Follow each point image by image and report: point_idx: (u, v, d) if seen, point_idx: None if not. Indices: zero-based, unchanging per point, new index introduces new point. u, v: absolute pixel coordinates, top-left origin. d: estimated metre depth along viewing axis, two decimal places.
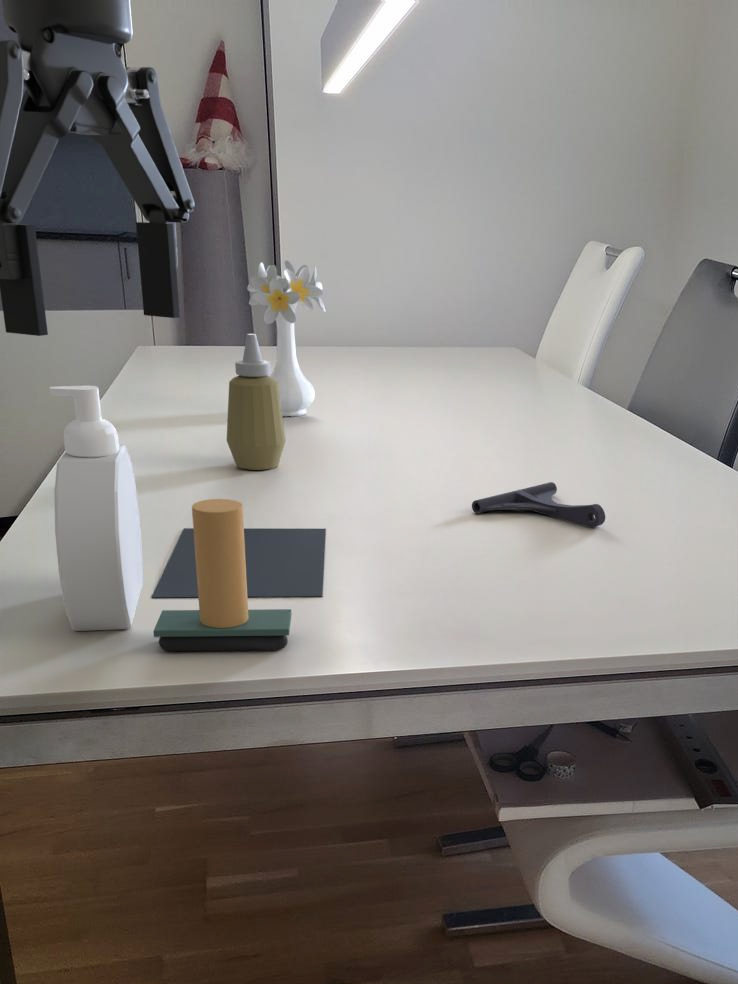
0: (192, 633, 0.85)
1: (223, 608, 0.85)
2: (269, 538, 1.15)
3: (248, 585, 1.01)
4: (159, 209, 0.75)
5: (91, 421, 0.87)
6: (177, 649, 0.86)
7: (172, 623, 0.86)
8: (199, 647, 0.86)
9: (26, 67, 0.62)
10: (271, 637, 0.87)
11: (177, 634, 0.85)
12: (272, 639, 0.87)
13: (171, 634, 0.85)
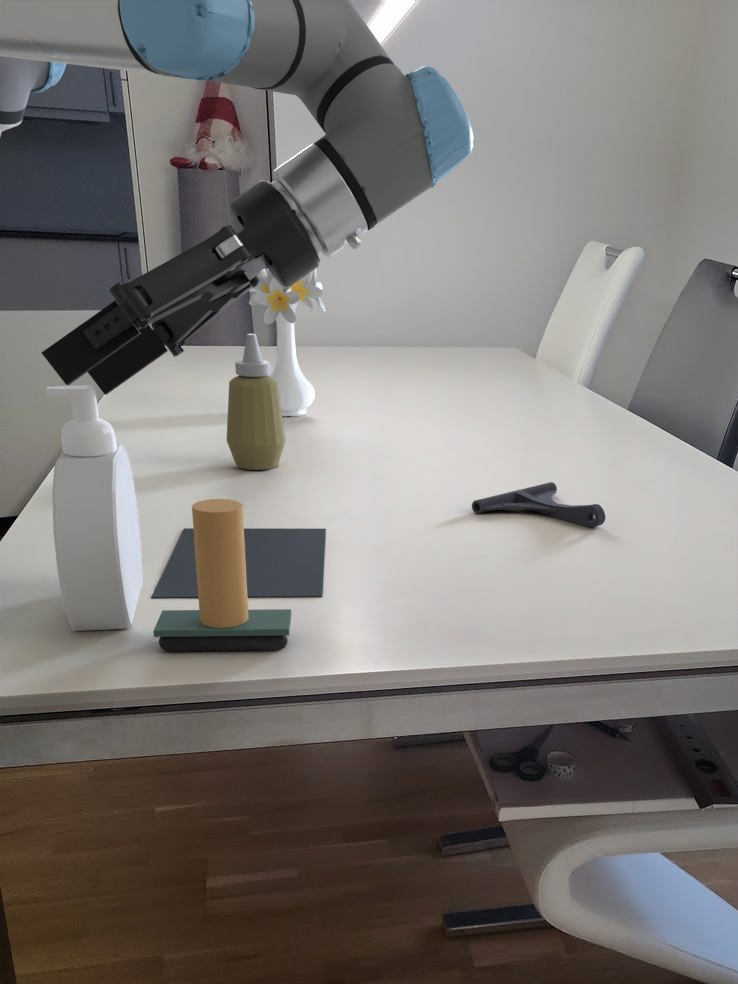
0: (192, 633, 0.85)
1: (223, 608, 0.85)
2: (269, 538, 1.15)
3: (248, 585, 1.01)
4: (168, 333, 0.88)
5: (88, 420, 0.87)
6: (177, 649, 0.86)
7: (172, 623, 0.86)
8: (199, 647, 0.86)
9: None
10: (271, 637, 0.87)
11: (177, 634, 0.85)
12: (272, 639, 0.87)
13: (171, 634, 0.85)
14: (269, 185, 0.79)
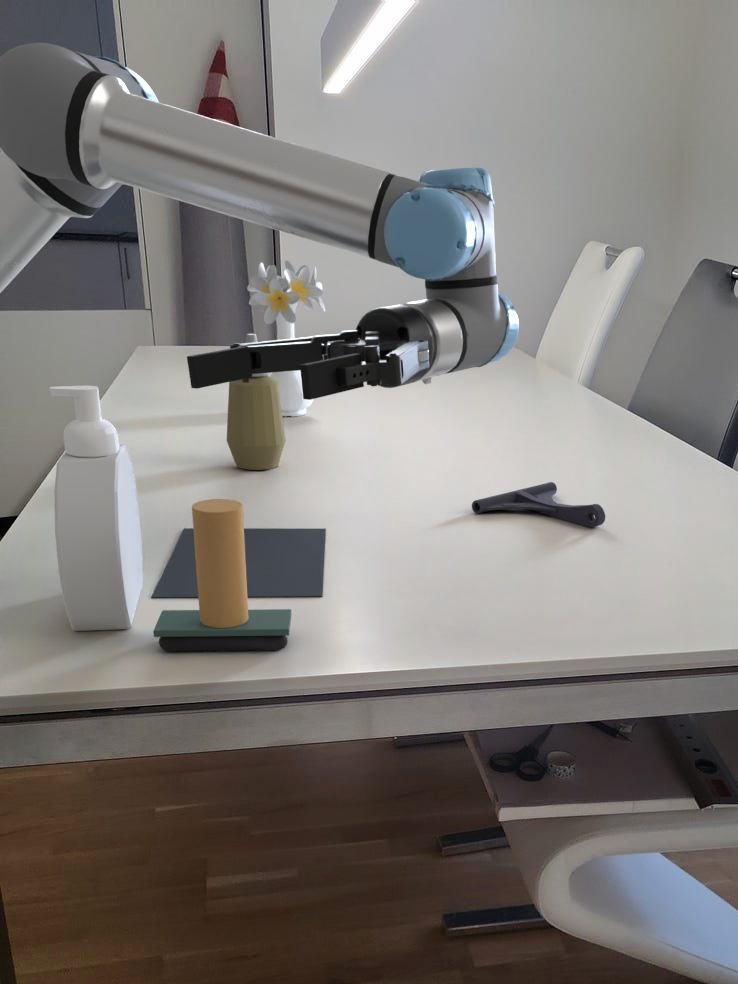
0: (192, 633, 0.85)
1: (223, 608, 0.85)
2: (269, 538, 1.15)
3: (248, 585, 1.01)
4: (252, 362, 0.95)
5: (91, 421, 0.87)
6: (177, 649, 0.86)
7: (172, 623, 0.86)
8: (199, 647, 0.86)
9: None
10: (271, 637, 0.87)
11: (177, 634, 0.85)
12: (272, 639, 0.87)
13: (171, 634, 0.85)
14: None
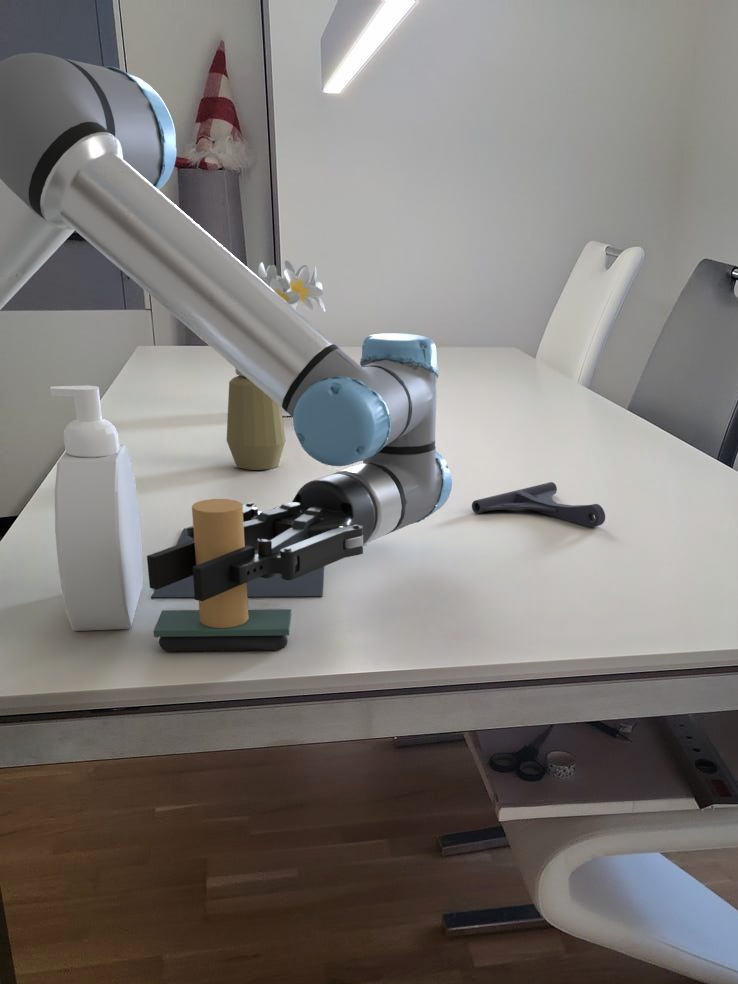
0: (192, 633, 0.85)
1: (223, 608, 0.85)
2: None
3: (248, 585, 1.01)
4: None
5: (92, 421, 0.87)
6: (177, 649, 0.86)
7: (172, 623, 0.86)
8: (199, 647, 0.86)
9: None
10: (271, 637, 0.87)
11: (177, 634, 0.85)
12: (272, 639, 0.87)
13: (171, 634, 0.85)
14: None
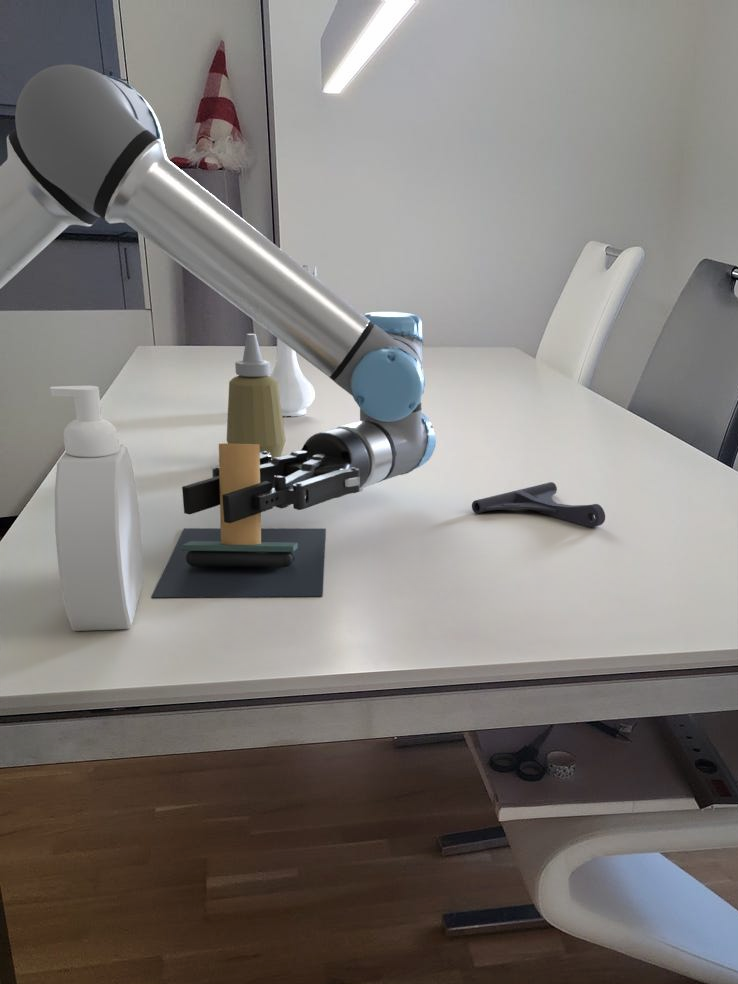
0: (213, 548, 1.03)
1: (240, 527, 1.03)
2: (269, 538, 1.15)
3: (248, 585, 1.01)
4: None
5: (92, 421, 0.87)
6: (200, 563, 1.03)
7: (198, 543, 1.04)
8: (218, 561, 1.03)
9: None
10: (278, 554, 1.04)
11: (201, 548, 1.03)
12: (279, 556, 1.04)
13: (196, 548, 1.03)
14: (359, 440, 1.17)
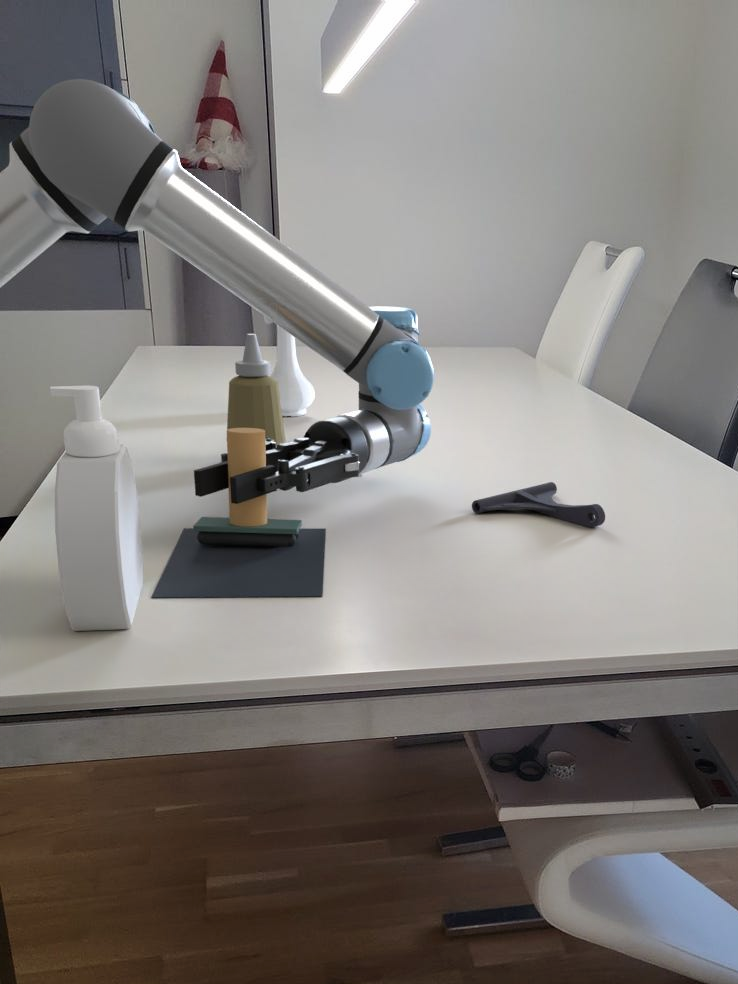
0: (222, 529, 1.10)
1: (247, 510, 1.10)
2: None
3: (248, 585, 1.01)
4: None
5: (92, 421, 0.87)
6: (210, 542, 1.11)
7: (208, 523, 1.11)
8: (227, 541, 1.11)
9: None
10: (283, 535, 1.11)
11: (211, 529, 1.10)
12: (283, 537, 1.11)
13: (206, 529, 1.10)
14: None
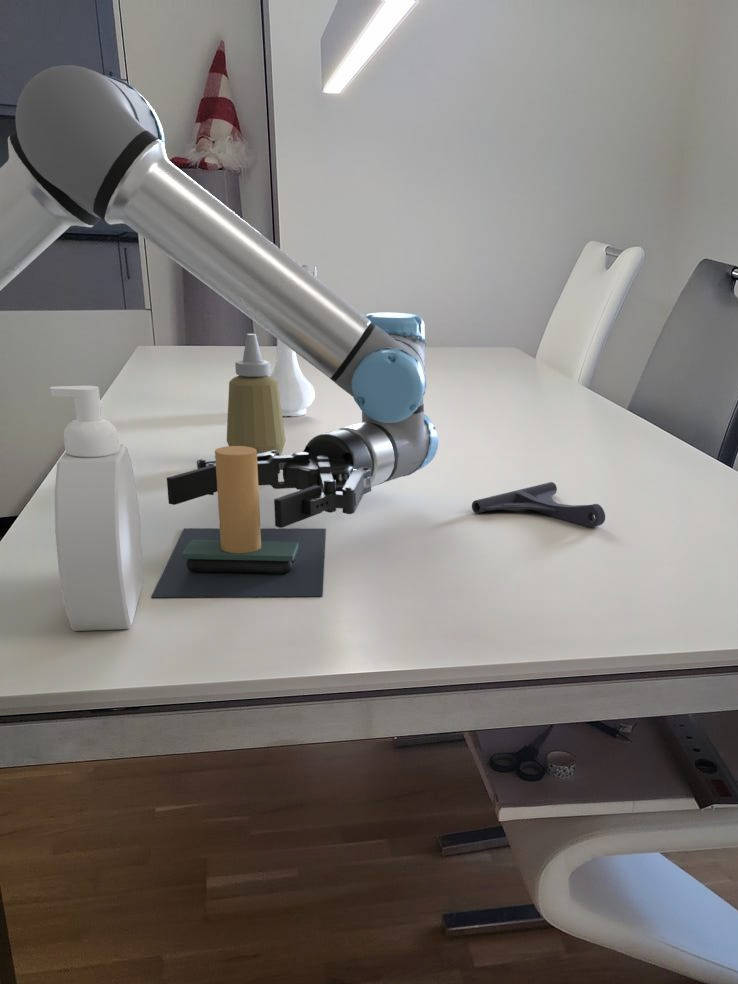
0: (213, 556, 1.03)
1: (239, 536, 1.03)
2: (269, 538, 1.15)
3: (248, 585, 1.01)
4: None
5: (92, 421, 0.87)
6: (201, 570, 1.04)
7: (198, 549, 1.04)
8: (219, 569, 1.04)
9: None
10: (278, 562, 1.04)
11: (201, 557, 1.03)
12: (279, 564, 1.04)
13: (196, 557, 1.03)
14: None
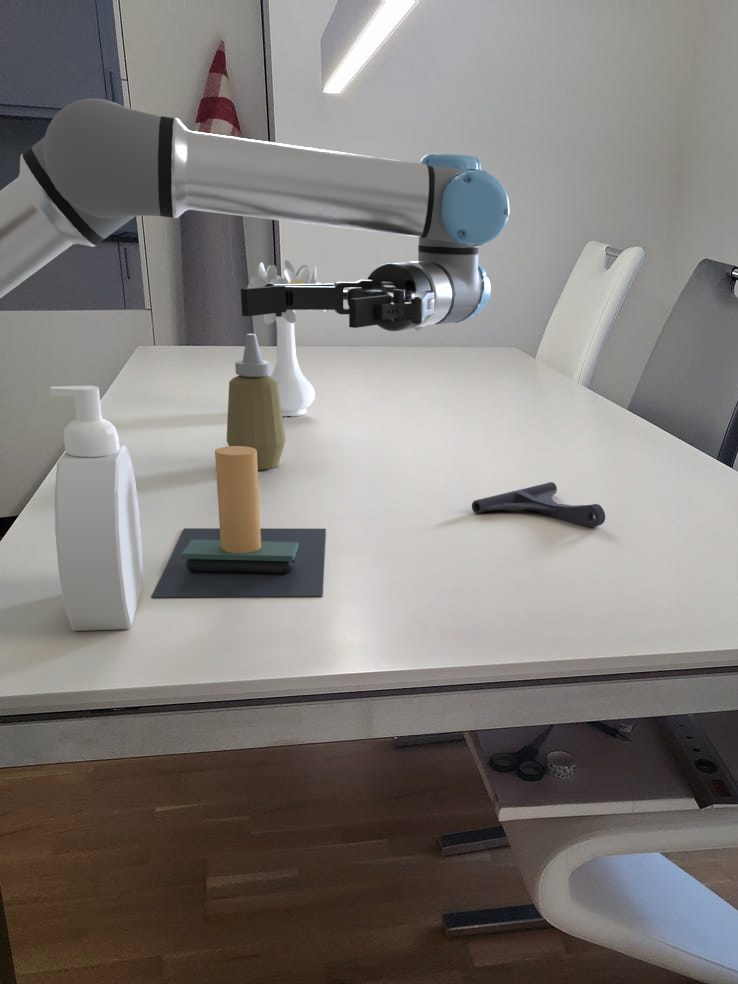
0: (213, 557, 1.03)
1: (239, 536, 1.03)
2: (269, 538, 1.15)
3: (248, 585, 1.01)
4: None
5: (92, 421, 0.87)
6: (201, 570, 1.04)
7: (198, 549, 1.04)
8: (219, 569, 1.04)
9: None
10: (278, 562, 1.04)
11: (201, 557, 1.03)
12: (279, 564, 1.04)
13: (196, 557, 1.03)
14: None
